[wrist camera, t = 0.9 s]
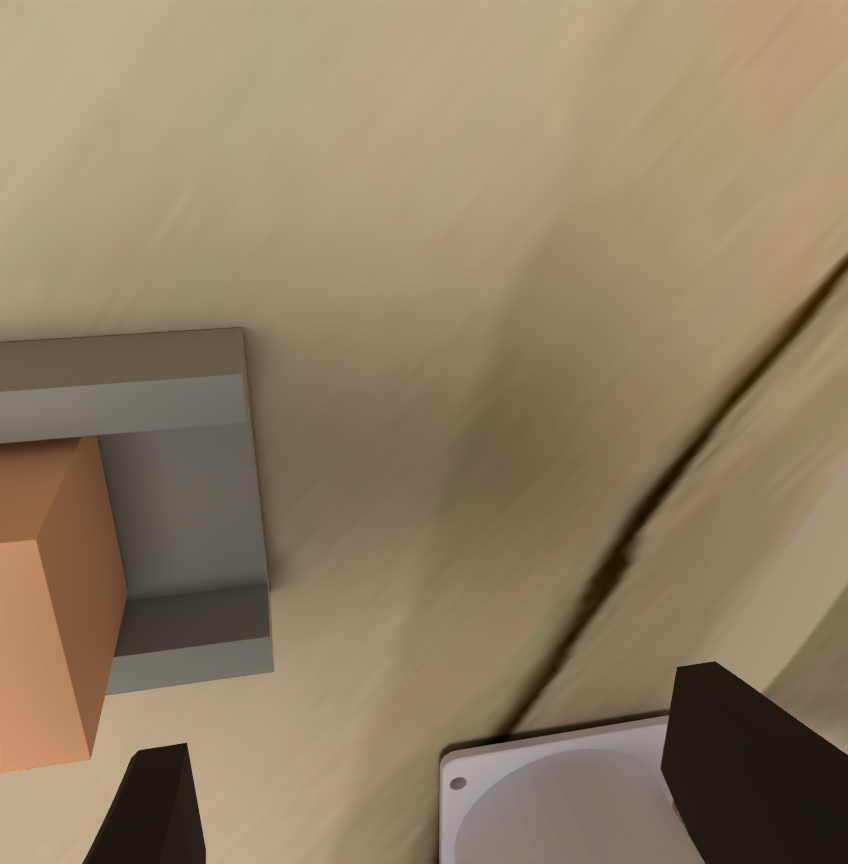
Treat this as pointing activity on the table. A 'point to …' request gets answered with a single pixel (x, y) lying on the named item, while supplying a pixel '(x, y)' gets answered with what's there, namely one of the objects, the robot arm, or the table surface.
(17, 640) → the block
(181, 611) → the trough
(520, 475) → the table surface
